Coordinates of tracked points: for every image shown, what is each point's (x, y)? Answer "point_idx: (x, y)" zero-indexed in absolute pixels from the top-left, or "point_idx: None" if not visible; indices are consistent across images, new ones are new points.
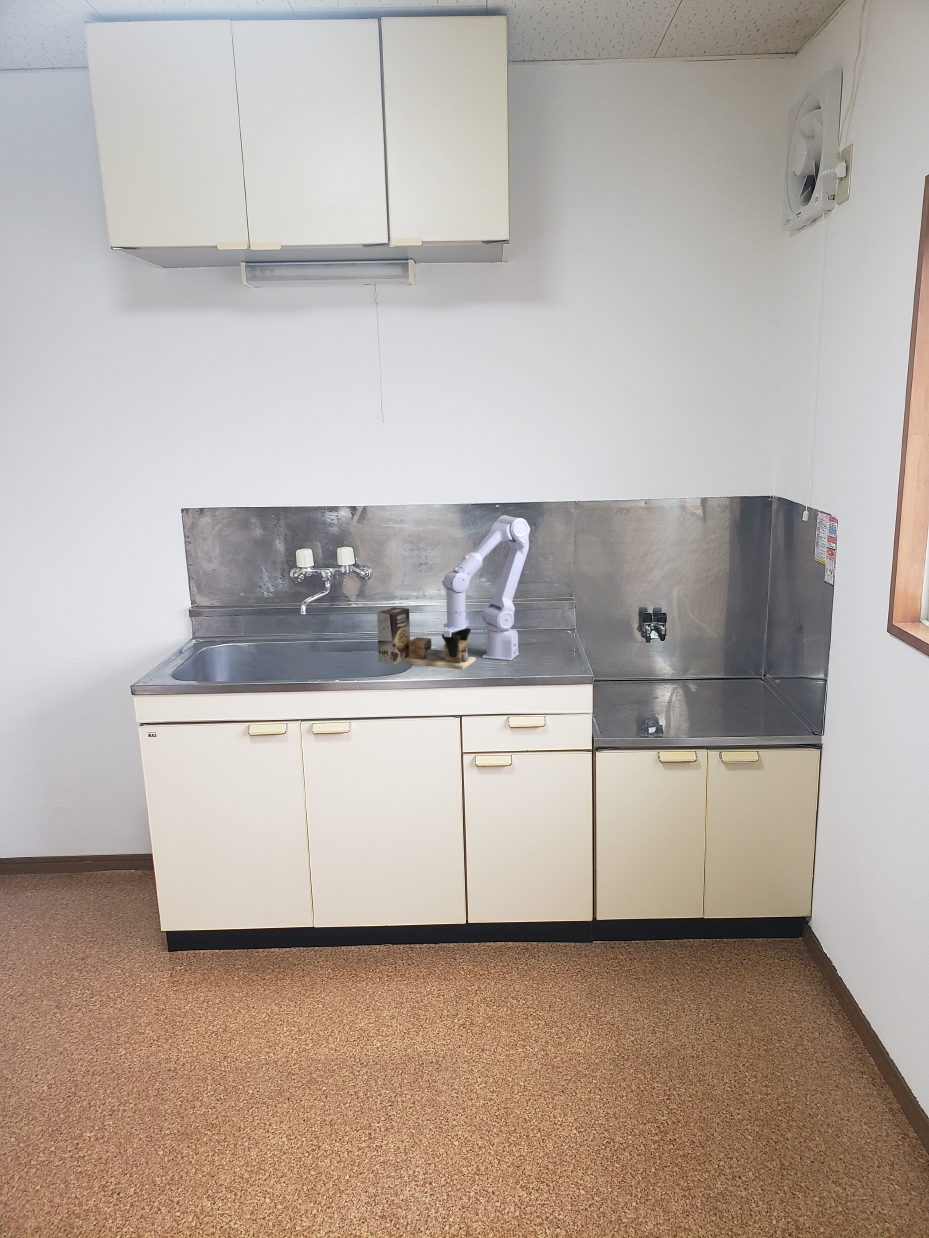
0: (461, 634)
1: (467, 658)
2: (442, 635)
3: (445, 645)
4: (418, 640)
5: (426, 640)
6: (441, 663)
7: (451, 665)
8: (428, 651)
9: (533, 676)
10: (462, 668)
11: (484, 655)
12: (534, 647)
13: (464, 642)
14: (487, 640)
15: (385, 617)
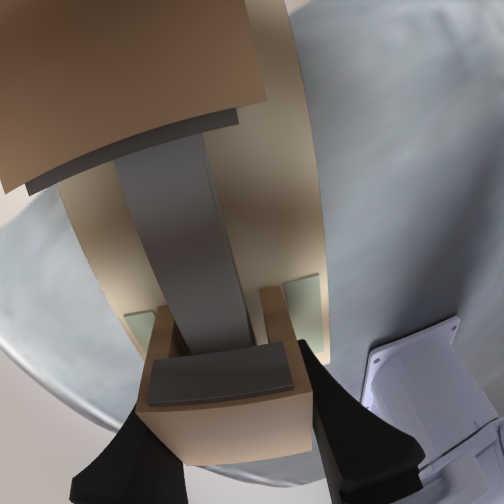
0: (329, 472)
1: None
2: (69, 497)
3: (140, 405)
4: (39, 39)
5: (96, 134)
6: (117, 305)
7: (141, 353)
8: (119, 170)
9: (245, 474)
10: None
11: (386, 351)
12: (486, 357)
13: (269, 456)
14: (422, 410)
15: None
